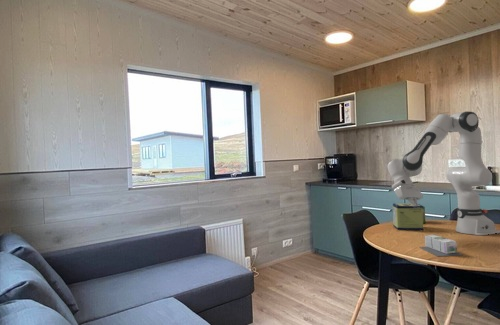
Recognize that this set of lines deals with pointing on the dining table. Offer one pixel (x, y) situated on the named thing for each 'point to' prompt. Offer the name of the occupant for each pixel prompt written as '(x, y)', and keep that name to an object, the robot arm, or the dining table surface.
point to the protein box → (407, 216)
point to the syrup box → (441, 244)
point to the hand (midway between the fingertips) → (415, 205)
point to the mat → (439, 252)
